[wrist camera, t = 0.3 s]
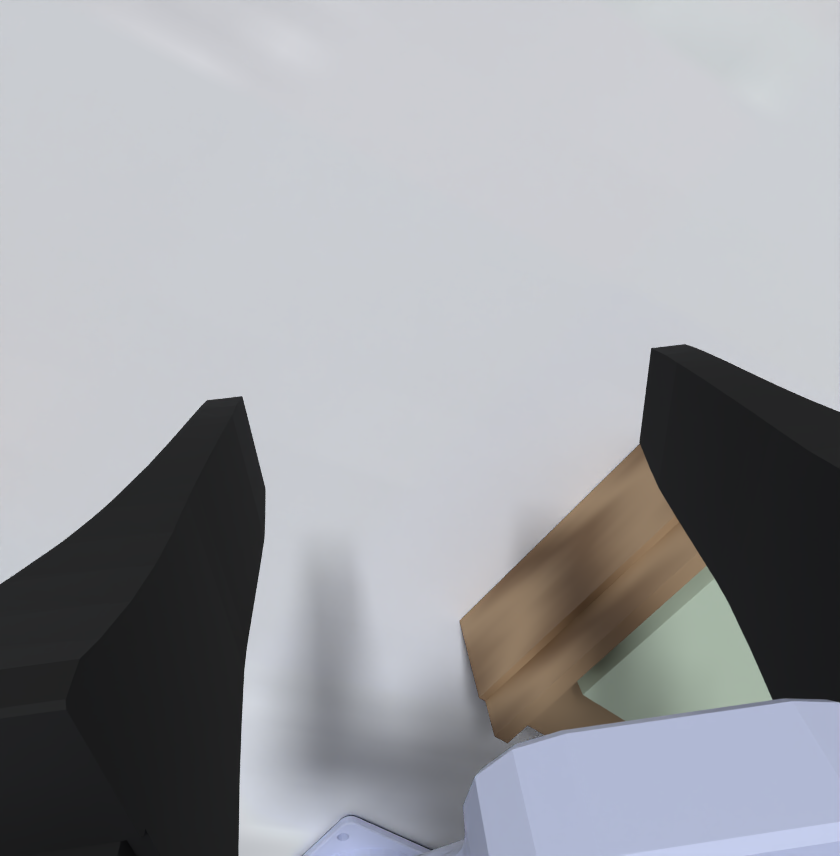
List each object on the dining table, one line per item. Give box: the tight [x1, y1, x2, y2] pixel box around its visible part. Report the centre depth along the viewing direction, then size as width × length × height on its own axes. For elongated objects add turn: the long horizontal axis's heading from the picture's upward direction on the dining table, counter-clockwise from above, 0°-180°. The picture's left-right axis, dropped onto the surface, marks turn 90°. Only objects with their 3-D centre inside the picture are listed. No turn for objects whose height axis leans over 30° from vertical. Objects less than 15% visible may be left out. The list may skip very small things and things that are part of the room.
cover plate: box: [577, 566, 772, 721], centre depth 25 cm, size 7×9×2 cm
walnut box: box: [460, 444, 706, 743], centre depth 27 cm, size 10×12×6 cm
